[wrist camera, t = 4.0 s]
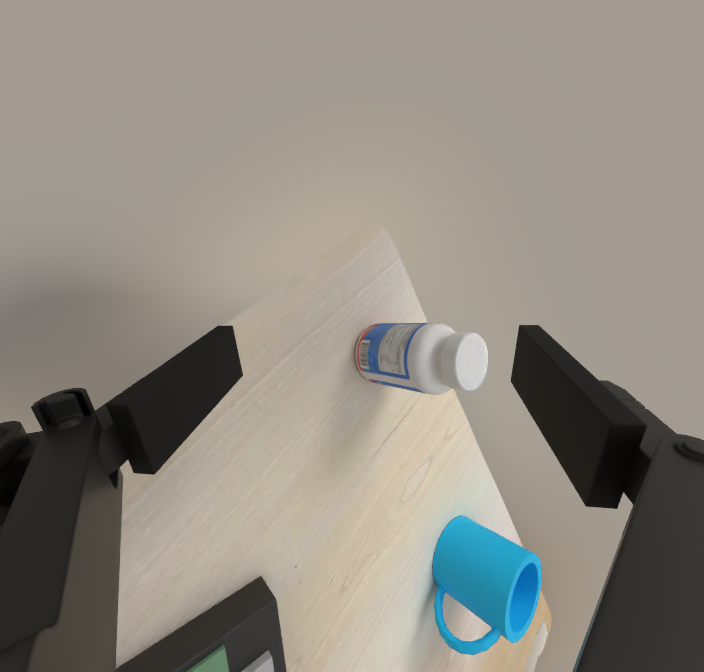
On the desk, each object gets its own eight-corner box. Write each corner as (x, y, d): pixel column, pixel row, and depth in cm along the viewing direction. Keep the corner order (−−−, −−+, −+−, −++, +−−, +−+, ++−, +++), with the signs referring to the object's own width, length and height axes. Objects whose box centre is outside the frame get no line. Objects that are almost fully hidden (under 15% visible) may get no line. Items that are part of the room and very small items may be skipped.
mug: (460, 501, 39) (531, 537, 33) (478, 541, 42) (547, 580, 36) (403, 597, 33) (476, 663, 27) (429, 634, 36) (500, 701, 30)
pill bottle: (404, 351, 32) (501, 361, 24) (375, 393, 30) (472, 419, 22) (376, 310, 29) (475, 306, 22) (342, 353, 27) (439, 366, 20)
